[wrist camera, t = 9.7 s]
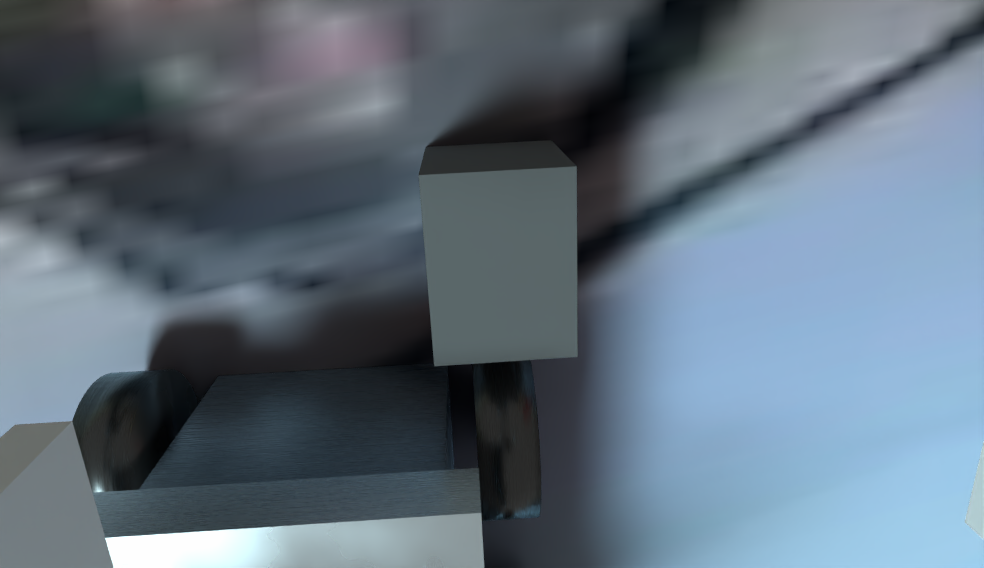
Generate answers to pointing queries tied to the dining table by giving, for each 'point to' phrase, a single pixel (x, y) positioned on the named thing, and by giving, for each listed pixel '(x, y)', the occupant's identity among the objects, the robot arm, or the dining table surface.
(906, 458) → the dining table surface
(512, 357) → the grey rectangular block
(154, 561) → the trolley
